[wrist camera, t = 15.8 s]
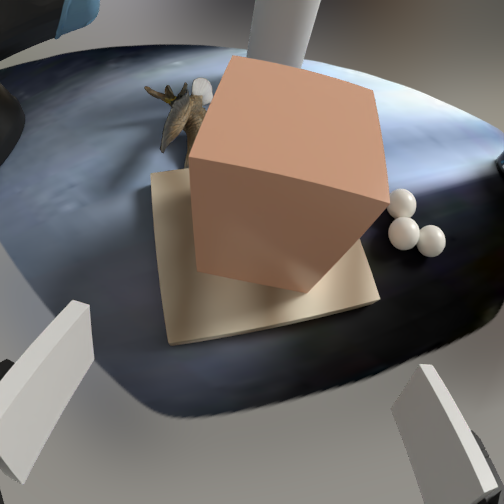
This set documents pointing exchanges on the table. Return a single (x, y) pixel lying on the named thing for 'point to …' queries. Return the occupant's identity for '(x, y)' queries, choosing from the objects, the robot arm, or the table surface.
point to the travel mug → (282, 30)
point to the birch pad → (236, 291)
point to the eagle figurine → (184, 112)
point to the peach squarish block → (284, 174)
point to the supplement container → (501, 164)
